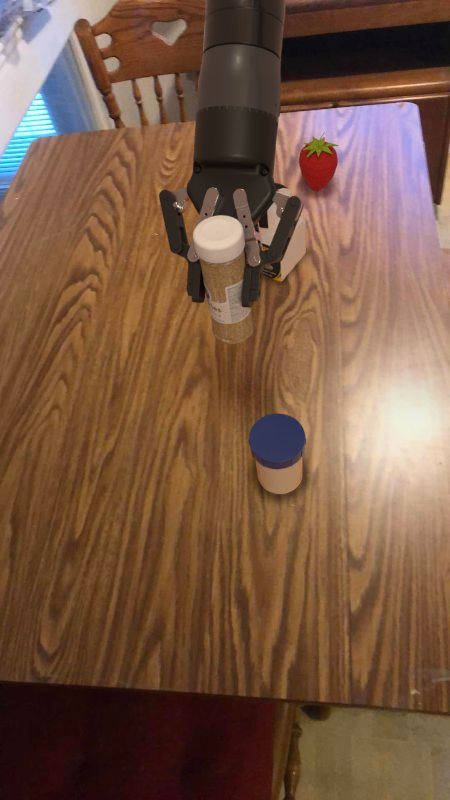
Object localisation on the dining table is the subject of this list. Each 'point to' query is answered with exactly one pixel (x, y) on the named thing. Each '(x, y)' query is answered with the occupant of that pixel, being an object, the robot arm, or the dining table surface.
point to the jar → (280, 477)
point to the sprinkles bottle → (224, 276)
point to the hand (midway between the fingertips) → (222, 303)
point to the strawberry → (318, 163)
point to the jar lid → (277, 441)
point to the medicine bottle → (294, 248)
